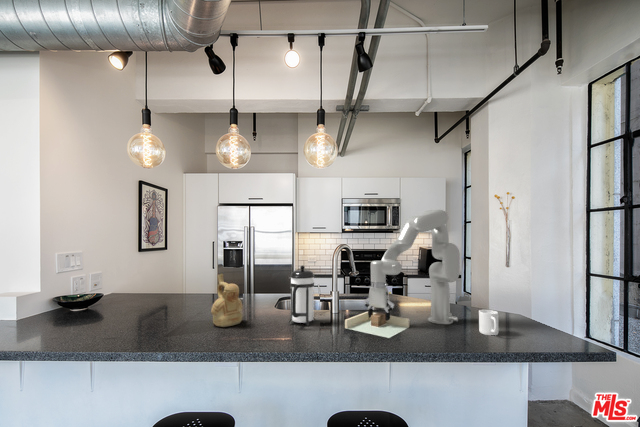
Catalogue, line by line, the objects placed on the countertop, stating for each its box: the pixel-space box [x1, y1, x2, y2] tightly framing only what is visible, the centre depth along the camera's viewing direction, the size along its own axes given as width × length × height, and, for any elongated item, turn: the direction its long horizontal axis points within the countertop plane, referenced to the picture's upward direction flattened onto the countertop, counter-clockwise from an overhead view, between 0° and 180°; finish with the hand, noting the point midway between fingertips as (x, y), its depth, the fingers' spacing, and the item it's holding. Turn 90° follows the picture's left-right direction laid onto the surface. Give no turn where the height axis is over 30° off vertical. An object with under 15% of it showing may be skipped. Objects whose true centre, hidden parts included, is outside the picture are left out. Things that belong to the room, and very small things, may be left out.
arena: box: [344, 311, 410, 339], centre depth 169 cm, size 24×22×4 cm
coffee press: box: [288, 265, 316, 327], centre depth 178 cm, size 17×16×30 cm
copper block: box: [371, 312, 386, 327], centre depth 174 cm, size 8×4×5 cm, turn 142°
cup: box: [478, 309, 499, 336], centre depth 161 cm, size 8×12×10 cm
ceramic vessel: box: [210, 273, 244, 328], centre depth 177 cm, size 17×20×25 cm
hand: (378, 318), depth 174 cm, fingers open, 9 cm apart
